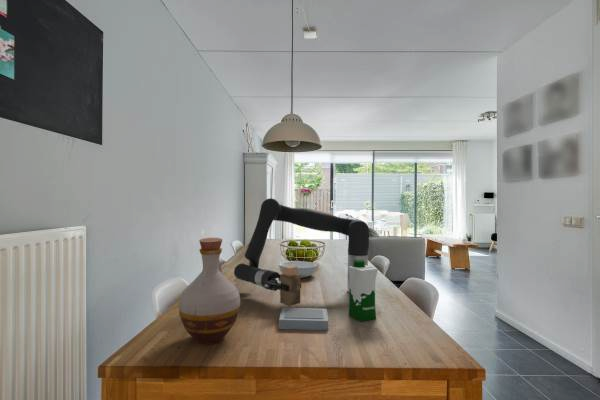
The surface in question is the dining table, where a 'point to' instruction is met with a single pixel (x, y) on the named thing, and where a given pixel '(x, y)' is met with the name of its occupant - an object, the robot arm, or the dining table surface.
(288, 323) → the dock
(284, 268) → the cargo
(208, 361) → the dining table surface
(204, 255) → the jug
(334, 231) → the robot arm
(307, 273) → the serving bowl
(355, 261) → the milk carton
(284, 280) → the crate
